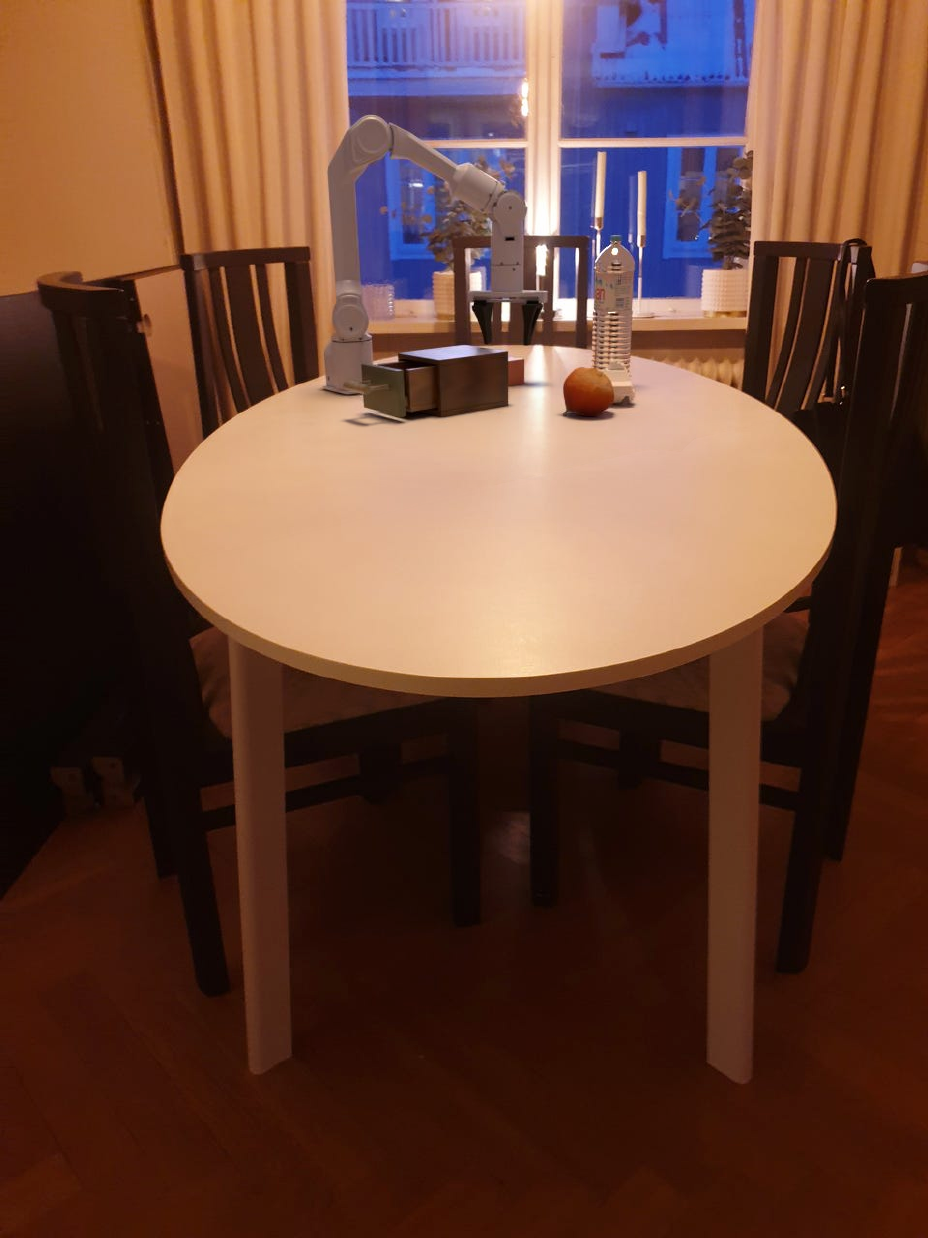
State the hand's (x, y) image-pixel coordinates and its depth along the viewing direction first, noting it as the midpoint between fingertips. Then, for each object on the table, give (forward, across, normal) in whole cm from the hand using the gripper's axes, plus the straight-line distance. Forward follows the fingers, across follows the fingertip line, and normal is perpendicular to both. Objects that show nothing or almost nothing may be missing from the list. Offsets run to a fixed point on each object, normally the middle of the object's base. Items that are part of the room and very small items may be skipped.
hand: (507, 344), depth 165 cm
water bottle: (+7, +19, +1) cm, 20 cm away
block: (+7, 0, 0) cm, 7 cm away
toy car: (+7, +23, -12) cm, 27 cm away
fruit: (+7, +22, -24) cm, 33 cm away
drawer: (+6, -6, -32) cm, 33 cm away
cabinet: (+7, -1, -23) cm, 24 cm away
